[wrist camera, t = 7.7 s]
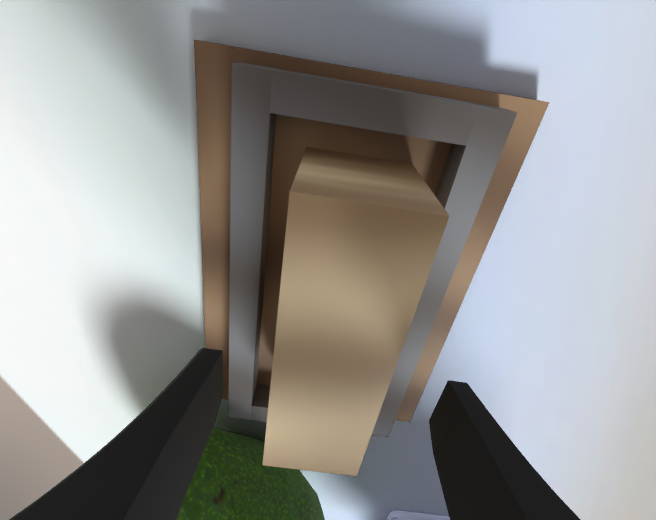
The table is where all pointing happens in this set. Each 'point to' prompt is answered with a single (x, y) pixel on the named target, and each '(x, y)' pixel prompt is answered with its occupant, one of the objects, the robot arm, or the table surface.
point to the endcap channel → (347, 137)
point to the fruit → (246, 485)
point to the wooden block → (345, 303)
